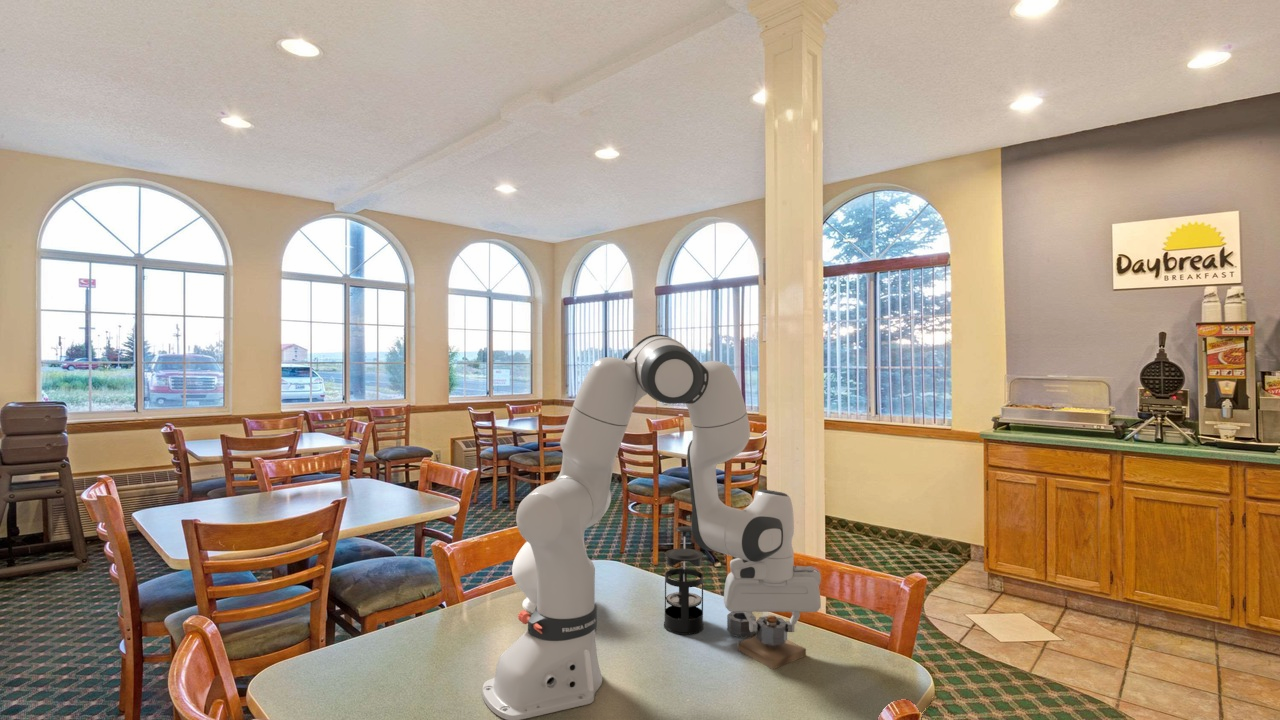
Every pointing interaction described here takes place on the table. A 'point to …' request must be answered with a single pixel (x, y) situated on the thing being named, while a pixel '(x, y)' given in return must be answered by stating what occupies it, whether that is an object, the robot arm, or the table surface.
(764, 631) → the grey octagonal nut
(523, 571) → the decorative vase
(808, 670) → the table surface
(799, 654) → the keeper
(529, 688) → the robot arm
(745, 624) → the grey octagonal ring
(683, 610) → the french press
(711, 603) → the table surface
